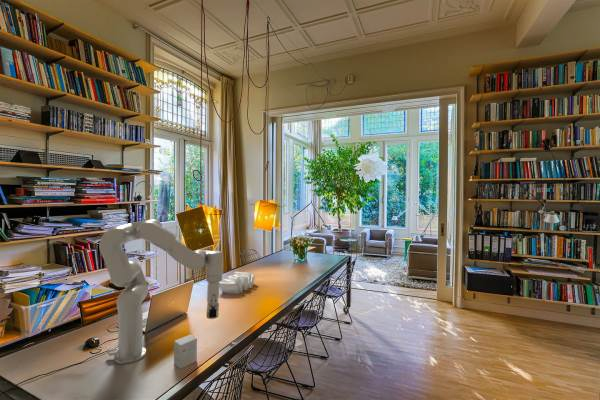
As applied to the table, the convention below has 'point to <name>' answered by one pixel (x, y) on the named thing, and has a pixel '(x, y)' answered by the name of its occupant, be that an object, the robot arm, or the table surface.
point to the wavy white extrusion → (237, 283)
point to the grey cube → (216, 311)
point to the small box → (185, 351)
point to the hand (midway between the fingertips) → (212, 314)
